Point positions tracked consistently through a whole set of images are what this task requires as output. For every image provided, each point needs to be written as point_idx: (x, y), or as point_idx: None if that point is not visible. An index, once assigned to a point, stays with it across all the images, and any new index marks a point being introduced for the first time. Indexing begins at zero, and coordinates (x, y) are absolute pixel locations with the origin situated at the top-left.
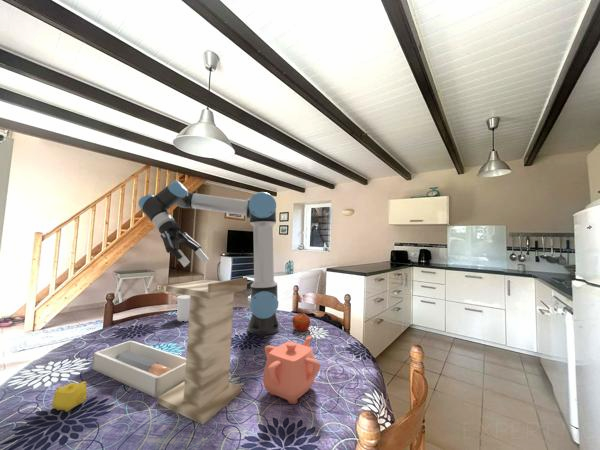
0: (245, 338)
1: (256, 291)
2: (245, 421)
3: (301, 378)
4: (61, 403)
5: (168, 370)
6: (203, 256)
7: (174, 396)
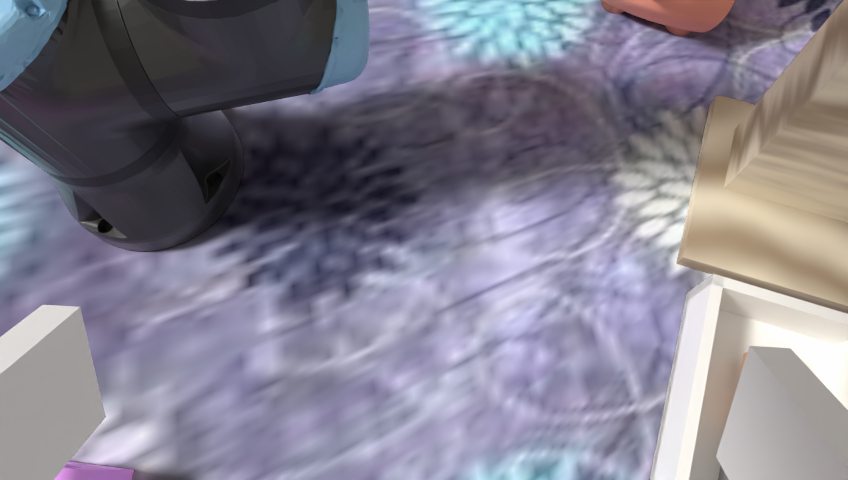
0: (290, 223)
1: None
2: None
3: None
4: None
5: None
6: (3, 420)
7: (844, 263)
